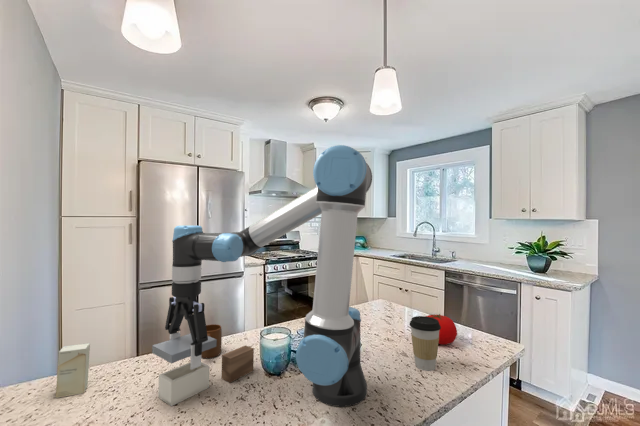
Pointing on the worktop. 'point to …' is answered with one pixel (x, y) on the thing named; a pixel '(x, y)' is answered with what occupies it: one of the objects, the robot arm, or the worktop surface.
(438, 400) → the worktop surface
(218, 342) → the mug
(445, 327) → the tomato
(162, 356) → the tile lid
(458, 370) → the worktop surface
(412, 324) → the coffee cup
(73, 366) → the skincare box
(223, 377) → the block
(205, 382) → the white open box
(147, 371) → the worktop surface
